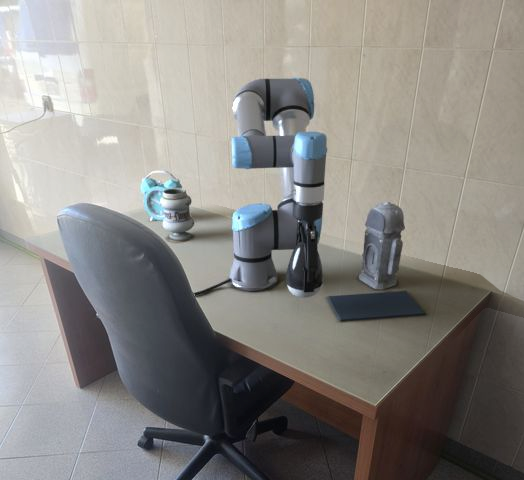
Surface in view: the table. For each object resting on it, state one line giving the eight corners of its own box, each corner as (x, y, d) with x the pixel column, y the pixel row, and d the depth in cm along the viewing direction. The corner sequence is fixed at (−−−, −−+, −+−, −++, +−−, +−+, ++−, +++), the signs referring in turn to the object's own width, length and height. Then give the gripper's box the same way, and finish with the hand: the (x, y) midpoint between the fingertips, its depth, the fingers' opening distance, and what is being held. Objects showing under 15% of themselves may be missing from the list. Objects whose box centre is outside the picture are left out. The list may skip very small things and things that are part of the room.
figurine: (381, 293, 140) (392, 210, 126) (352, 276, 151) (360, 197, 137) (405, 286, 144) (420, 205, 130) (376, 270, 154) (386, 193, 140)
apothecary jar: (159, 236, 184) (152, 189, 174) (186, 230, 190) (181, 184, 180) (173, 245, 175) (167, 197, 166) (201, 238, 181) (197, 191, 171)
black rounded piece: (328, 290, 131) (332, 238, 123) (311, 305, 124) (314, 251, 115) (297, 282, 136) (298, 231, 127) (278, 296, 129) (279, 243, 120)
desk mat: (340, 321, 126) (340, 319, 126) (327, 298, 138) (328, 296, 138) (425, 315, 129) (425, 313, 128) (405, 292, 140) (406, 290, 140)
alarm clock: (141, 222, 199) (133, 173, 188) (149, 215, 207) (142, 167, 196) (180, 223, 196) (175, 174, 185) (187, 216, 204) (182, 168, 193)
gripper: (285, 189, 124) (284, 266, 137) (302, 216, 106) (299, 303, 118) (313, 188, 125) (309, 264, 138) (334, 215, 106) (328, 301, 119)
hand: (304, 282), depth 128 cm, fingers closed on black rounded piece, 10 cm apart
